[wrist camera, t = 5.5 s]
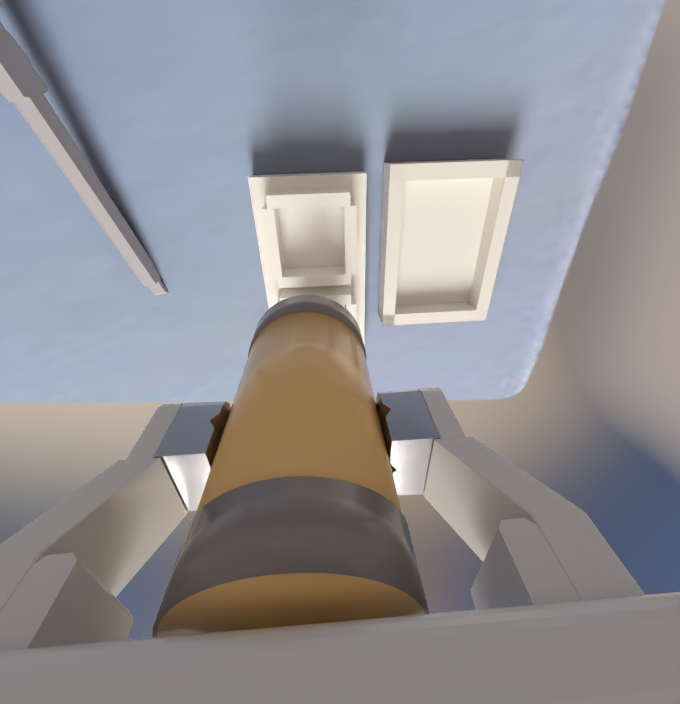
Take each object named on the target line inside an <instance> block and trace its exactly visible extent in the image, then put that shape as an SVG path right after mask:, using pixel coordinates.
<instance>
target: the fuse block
mask: <svg viewBox="0 0 680 704" xmlns="http://www.w3.org/2000/svg"><path fill="white" fill-rule="evenodd" d="M248 182H249V188H250V194H251V200H252V207H253V213H254V219H255V225H256V232H257V238H258V244H259V250H260V257H261V263H262V269H263V275H264V282H265V288H266V294H267V300H268V307H269V309H270V308H271V307H272V306H273V305H275V304H276V303H278V302H280V301H282V300H284V299H287V298H289V297H293V296H298V295H316V296H322V297H325V298H328V299H331V300H333V301H335V302H337V303H339V304H341V305H342V306H343V307H345V308H346V309H347V310H348V311H349V312H350V313H351V314H352V316H353V317H354V318H355V320H356V322H357V323H358V326H359V328H360V331H361V335H362V339H363V343H364V320H365V252H366V183H367V173H365V172H363V171H357V172H329V173H301V174H274V175H252V176H250V177H248Z"/></svg>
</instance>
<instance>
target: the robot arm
mask: <svg viewBox="0 0 680 704" xmlns="http://www.w3.org/2000/svg"><path fill="white" fill-rule="evenodd" d="M376 405H377V410H378V414H379V418H380V422H381V427H382V431H383V435H384V439H385V444H386V448H387V452H388V456H389V461H390V465H391V469H392V473H393V478H394V482H395V486H396V490H397V495H414V494H424V497H425V498H426V499H427V500H428V501H429V502H430V504H431V505H432V506H433V507H434V508H435V509H436V510H437V511H438V512H439V513H440V515H441V516H442V517H443V518H444V519H445V520H446V521H447V522H448V523H449V525H450V526H451V527H452V528H453V529H454V530H455V531H456V532H457V533H458V534H459V535H460V536H461V538H462V539H463V540H464V541H465V542H466V543H467V544H468V545H469V547H470V548H471V549H472V550H473V551H474V552H475V553H476V554H477V555H478V557H479V558H480V559H481V560H482V561H483V564H482V566H481V568H480V571H479V573H478V575H477V578H476V580H475V582H474V584H473V587H472V589H471V591H470V592H471V594H472V598H473V601H474V603H475V607H476V610H468V611H456V612H445V613H433V614H422V615H410V616H398V617H387V618H375V619H364V620H352V621H341V622H329V623H318V624H306V625H295V626H283V627H271V628H260V629H248V630H237V631H225V632H214V633H202V634H191V635H179V636H168V637H156V638H145V639H133V640H126V639H127V637H128V634H129V631H130V629H131V626H132V623H133V618H132V616H131V613H130V612H129V611H128V610H127V609H126V608H125V607H124V606H123V605H122V604H121V603H120V602H119V601H118V599H117V598H116V596H117V595H118V594H119V593H120V592H121V591H122V589H123V588H124V587H125V586H126V585H127V583H128V582H129V581H130V580H131V579H132V578H133V577H134V575H135V574H136V573H137V572H138V571H139V570H140V568H141V567H142V566H143V565H144V564H145V563H146V561H147V560H148V559H149V558H150V557H151V555H152V554H153V553H154V552H155V551H156V550H157V549H158V547H159V546H160V545H161V544H162V543H163V542H164V540H165V539H166V538H167V537H168V536H169V535H170V533H171V532H172V531H173V530H174V529H175V527H176V526H177V525H178V524H179V523H180V522H181V521H182V519H183V518H184V517H185V516H186V515H187V511H196V510H197V509H198V506H199V503H200V500H201V497H202V494H203V491H204V488H205V485H206V482H207V479H208V476H209V473H210V470H211V467H212V464H213V461H214V458H215V455H216V452H217V449H218V446H219V443H220V440H221V437H222V434H223V431H224V428H225V425H226V422H227V419H228V416H229V413H230V410H231V408H230V404H229V403H227V402H203V403H184V404H164V405H162V406H160V407H159V408H158V409H157V410H156V412H155V413H154V415H153V417H152V418H151V420H150V422H149V423H148V425H147V426H146V428H145V430H144V431H143V433H142V435H141V436H140V438H139V440H138V441H137V443H136V445H135V446H134V448H133V450H132V451H131V453H130V455H129V456H128V458H127V459H126V460H120V461H118V462H116V463H115V464H113V465H112V466H110V467H109V468H108V469H106V470H105V471H104V472H102V473H101V474H99V475H98V476H96V477H95V478H94V479H92V480H91V481H89V482H88V483H86V484H85V485H84V486H82V487H81V488H79V489H78V490H76V491H75V492H74V493H72V494H71V495H69V496H68V497H67V498H65V499H64V500H62V501H61V502H60V503H58V504H57V505H55V506H54V507H52V508H51V509H50V510H48V511H47V512H45V513H44V514H42V515H41V516H40V517H38V518H37V519H36V520H34V521H32V522H31V523H30V524H28V525H27V526H25V527H24V528H23V529H21V530H20V531H18V532H17V533H16V534H14V535H13V536H11V537H10V538H8V539H7V540H6V541H4V542H3V543H1V544H0V704H680V592H676V593H664V594H653V595H645V594H644V593H643V591H642V590H641V589H640V588H639V586H638V584H637V583H636V582H635V580H634V579H633V577H632V576H631V575H630V573H629V572H628V571H627V569H626V568H625V567H624V565H623V564H622V562H621V561H620V560H619V558H618V557H617V556H616V554H615V553H614V551H613V550H612V549H611V547H610V546H609V544H608V543H607V542H606V540H605V539H604V538H603V536H602V535H601V533H600V532H599V531H598V529H597V528H596V527H595V525H594V524H593V522H592V521H591V520H590V518H589V517H588V516H587V514H586V513H585V512H584V511H583V510H581V509H580V508H578V507H576V506H575V505H574V504H572V503H571V502H569V501H568V500H566V499H565V498H563V497H562V496H560V495H559V494H557V493H556V492H554V491H553V490H551V489H550V488H548V487H547V486H545V485H544V484H542V483H541V482H539V481H538V480H536V479H535V478H533V477H532V476H530V475H529V474H527V473H526V472H524V471H523V470H521V469H520V468H518V467H517V466H515V465H514V464H512V463H511V462H509V461H508V460H506V459H505V458H503V457H502V456H500V455H499V454H497V453H496V452H494V451H493V450H492V449H490V448H488V447H487V446H485V445H484V444H483V443H481V442H479V441H478V440H477V439H475V438H473V437H466V436H465V434H464V432H463V430H462V428H461V427H460V425H459V423H458V421H457V419H456V417H455V415H454V413H453V411H452V409H451V407H450V405H449V404H448V401H447V400H446V398H445V396H444V394H443V392H442V390H441V389H439V388H427V389H418V390H406V391H391V392H378V393H377V401H376Z"/></svg>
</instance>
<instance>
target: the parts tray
mask: <svg viewBox="0 0 680 704" xmlns="http://www.w3.org/2000/svg"><path fill="white" fill-rule="evenodd" d="M523 161H524V160H521V159H507V158H502V159H473V160H445V161H416V162H388V163H384V170H383V195H382V221H381V247H380V272H379V298H378V314H379V317H380V320H381V323H382V325H402V324H421V323H440V322H458V321H477V320H486V315H487V311H488V307H489V303H490V299H491V295H492V290H493V286H494V282H495V278H496V274H497V269H498V265H499V261H500V257H501V253H502V249H503V244H504V240H505V236H506V232H507V228H508V223H509V219H510V215H511V211H512V207H513V203H514V198H515V194H516V190H517V186H518V182H519V177H520V173H521V169H522V165H523Z"/></svg>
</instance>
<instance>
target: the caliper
mask: <svg viewBox="0 0 680 704" xmlns="http://www.w3.org/2000/svg"><path fill="white" fill-rule="evenodd" d="M4 1H5V0H0V5H1V4H2V3H3V2H4ZM47 91H48V88H47V86H46V84H45V83H44V82H43V80H42V79H41V78H40V76H39V75H38V74H37V72H36V71H35V69H34V68H33V66H32V64H31V62H30V60H29V58H28V56H27V55H26V54H25V52H24V51H23V50H22V48H21V47H20V46H19V45H18V43H17V42H16V41H15V39H14V38H13V37H12V36H11V34H10V33H9V32H7V31H6V30H5V28H4V27H3V25H2V23H1V22H0V92H1V93H2V95H3V96H4V97H5V99H6V100H7V101H10V102H14V104H15V105H16V106H17V108H18V109H19V111H20V112H21V114H22V115H23V116H24V118H25V119H26V121H27V122H28V123H29V125H30V126H31V128H32V129H33V130H34V132H35V133H36V135H37V136H38V137H39V139H40V140H41V142H42V143H43V145H44V146H45V147H46V149H47V150H48V152H49V153H50V154H51V156H52V157H53V159H54V160H55V161H56V163H57V164H58V166H59V167H60V169H61V170H62V171H63V173H64V174H65V176H66V177H67V178H68V180H69V181H70V183H71V184H72V185H73V187H74V188H75V190H76V191H77V193H78V194H79V195H80V197H81V198H82V200H83V201H84V202H85V204H86V205H87V207H88V208H89V209H90V211H91V212H92V214H93V215H94V217H95V218H96V219H97V221H98V222H99V224H100V225H101V226H102V228H103V229H104V231H105V232H106V233H107V235H108V236H109V238H110V239H111V240H112V242H113V243H114V245H115V246H116V248H117V249H118V250H119V252H120V253H121V255H122V256H123V257H124V259H125V260H126V262H127V263H128V264H129V266H130V267H131V269H132V270H133V271H134V273H135V274H136V276H137V277H138V278H139V280H140V281H141V283H142V284H143V285H144V287H145V286H149V288H150V289H151V291H152V292H153V293H154V294H155V295H156V296H157V295H161V294H166V293H168V291H167V289H166V288H165V286H164V285H163V283H162V282H161V280H160V276H159V274H158V272H157V270H156V268H155V266H154V264H153V262H152V261H151V259H150V257H149V256H148V254H147V253H146V251H145V250H144V248H143V247H142V245H141V244H140V242H139V240H138V239H137V237H136V236H135V234H134V233H133V231H132V230H131V228H130V227H129V225H128V224H127V222H126V221H125V219H124V218H123V216H122V214H121V213H120V211H119V210H118V208H117V207H116V205H115V204H114V202H113V201H112V199H111V198H110V196H109V195H108V193H107V192H106V190H105V188H104V187H103V185H102V184H101V182H100V181H99V179H98V178H97V176H96V175H95V173H94V171H93V170H92V168H91V167H90V165H89V164H88V162H87V161H86V159H85V158H84V156H83V154H82V153H81V151H80V150H79V148H78V147H77V145H76V144H75V142H74V141H73V139H72V137H71V136H70V134H69V133H68V131H67V130H66V128H65V127H64V125H63V124H62V122H61V121H60V119H59V117H58V116H57V114H56V113H55V111H54V110H53V108H52V107H51V105H50V104H49V102H48V100H47V99H46V97H45V96H44V94H43V93H45V92H47Z"/></svg>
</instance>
